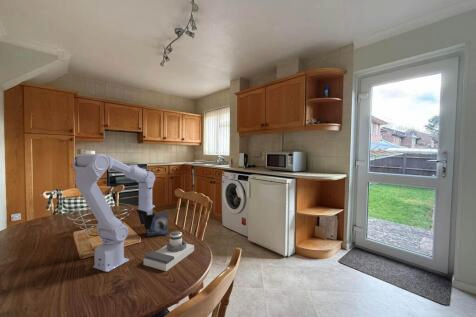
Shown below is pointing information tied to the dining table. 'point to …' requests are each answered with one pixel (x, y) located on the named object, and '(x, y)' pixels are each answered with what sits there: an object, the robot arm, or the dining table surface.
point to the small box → (158, 225)
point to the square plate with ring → (168, 256)
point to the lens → (176, 239)
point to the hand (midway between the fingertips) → (145, 226)
